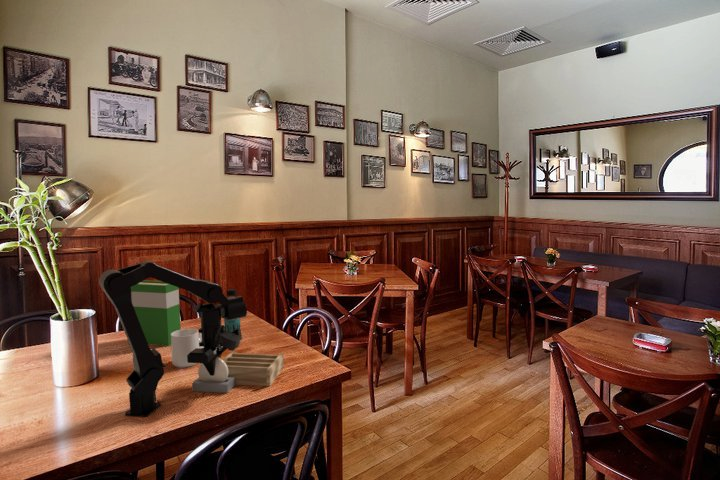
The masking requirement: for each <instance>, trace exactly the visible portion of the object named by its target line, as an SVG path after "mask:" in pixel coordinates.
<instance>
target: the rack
mask: <svg viewBox="0 0 720 480" xmlns="http://www.w3.org/2000/svg"><path fill="white" fill-rule="evenodd" d="M284 359H285V358H284V353H283V352H280V353H279V354H274V353H270V354H269V353H267V354H266V353H247V352H246V353H242V352H236V350H234V351H231V352H230V353H229V354H227V356H225V357H224V358H222V360H223V361H224V362H225V363H226V365H227V367H228V371H229V373H228V377H235V385H239V386H243V385H244V386H256V387H257V386H260V387H261V386H262V387H263V386H264V387H271V386H272V384H273V383H274V381H275V380H276V379H277V377H278V376H279V375H280V373H281V372H282V371H283V369H284V368H285V365H284V364H285V363H284Z"/></svg>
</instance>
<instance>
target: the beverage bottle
mask: <svg viewBox="0 0 720 480" xmlns="http://www.w3.org/2000/svg"><path fill="white" fill-rule="evenodd" d="M225 294H226V295H225V296H226V298H227V299H228V298H234V297H235V296H238V292H237V289H236V288H234V289H232V288H231V289H227V290H226V293H225ZM227 296H228V297H227ZM223 321H224V322H223V325H224V326H225V331H228V332H229V331H231V332H233V331H234V330H235V329H236V328H237V329H240V330H241V318H239V319H234V320H229V321H226V320H225V319H224V318H223Z"/></svg>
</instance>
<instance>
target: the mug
mask: <svg viewBox="0 0 720 480" xmlns="http://www.w3.org/2000/svg"><path fill="white" fill-rule="evenodd" d="M201 341H202V334H201V333H198V329H197V328H183V329H182V328H181V330H177V331H174V332H172V333H171V345H170V347H171V348H170V349H171V362H172V365H173V366H174V367H176V368H180V369H181V368H183V369H184V368H189V367H193V366H195V365H197V363H188V362H187V355H188V354H189V353H190V352H191V351H193V350H194V349H196V348H204V347H203V346H199V343H200V342H201Z"/></svg>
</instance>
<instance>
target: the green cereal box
mask: <svg viewBox="0 0 720 480" xmlns="http://www.w3.org/2000/svg"><path fill="white" fill-rule="evenodd" d="M179 290H180V288H179V287H176V286H173V285H171V284H168V283H165V282H162V281H160V280H147V279H145V280H144V281H142V282H140V283H138V284H136V285H134V286H131V294H132V304H133V307H134V310H135V312H136V315H137V317H138V320H139V322H140V325H141V328H142V330H143V333H144V335H145V338H146V340H147V343H148V345H153V346H164V347H166V346H167V347H169V346H170V347H171V333H172V332H174V331H177V330H181V329H182V328H181V313H180V293H179V292H180V291H179Z"/></svg>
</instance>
